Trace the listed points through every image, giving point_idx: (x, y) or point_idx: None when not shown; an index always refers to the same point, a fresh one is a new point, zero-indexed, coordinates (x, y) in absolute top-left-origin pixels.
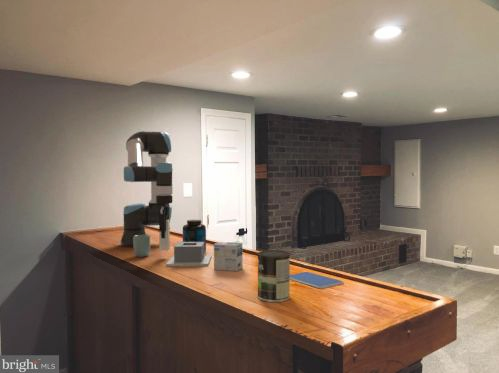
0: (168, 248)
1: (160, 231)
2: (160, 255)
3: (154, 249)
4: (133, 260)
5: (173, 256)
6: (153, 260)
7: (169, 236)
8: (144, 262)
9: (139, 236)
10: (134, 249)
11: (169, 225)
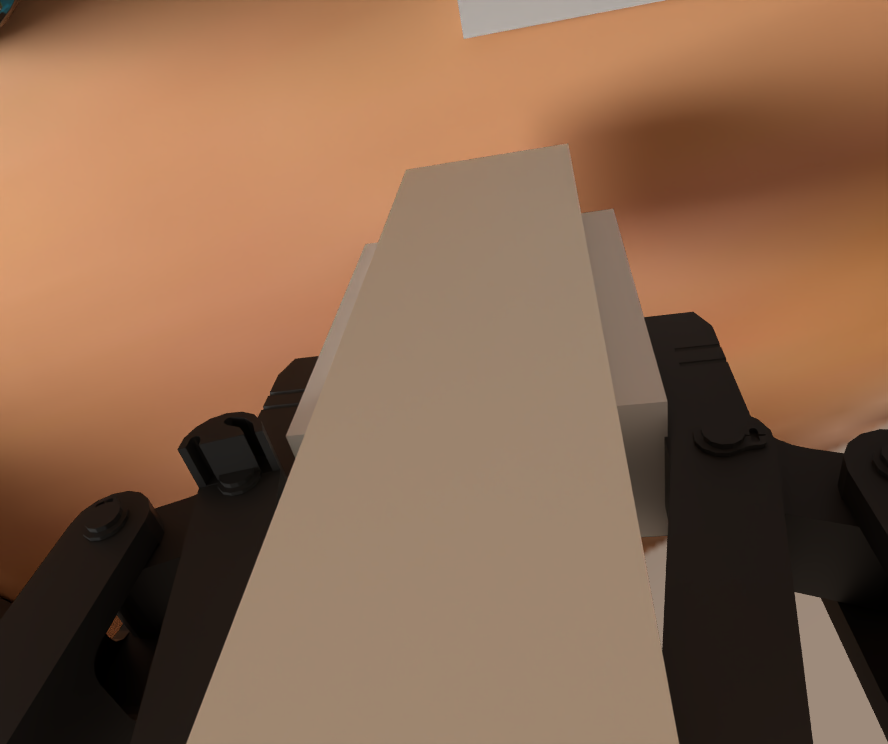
0: (514, 161)
1: (665, 530)
2: (341, 291)
3: (49, 456)
4: None
5: (537, 11)
6: (681, 271)
7: (371, 284)
8: (807, 336)
9: None
10: None
11: (280, 507)
